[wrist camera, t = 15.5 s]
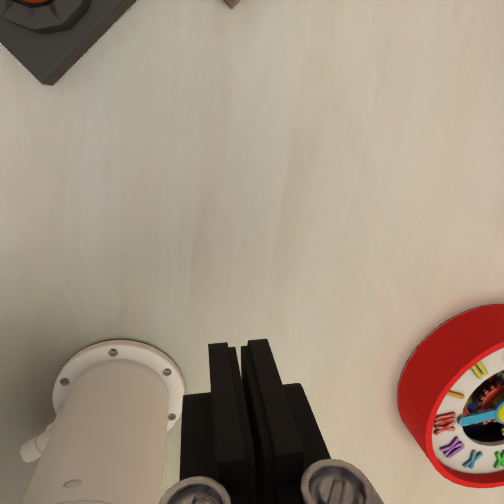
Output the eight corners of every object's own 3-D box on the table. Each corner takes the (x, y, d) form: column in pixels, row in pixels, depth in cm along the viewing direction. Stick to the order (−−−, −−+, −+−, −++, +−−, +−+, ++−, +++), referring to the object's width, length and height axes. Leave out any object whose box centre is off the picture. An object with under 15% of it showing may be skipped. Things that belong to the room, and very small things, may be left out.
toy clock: (588, 464, 45) (424, 506, 43) (545, 426, 50) (398, 462, 49) (620, 313, 38) (426, 355, 36) (566, 288, 43) (395, 324, 42)
